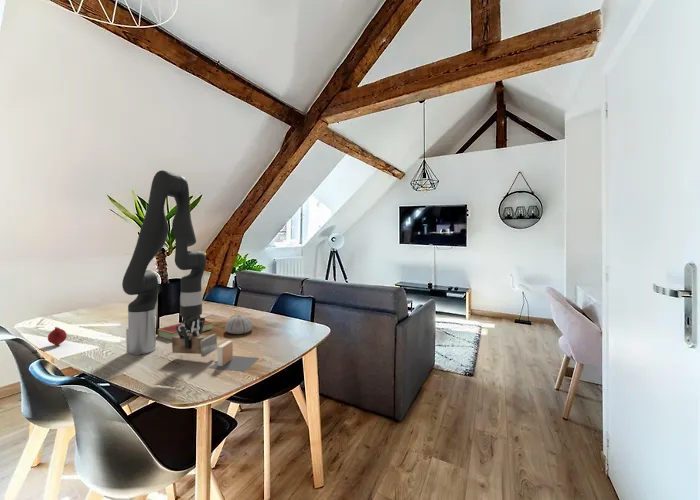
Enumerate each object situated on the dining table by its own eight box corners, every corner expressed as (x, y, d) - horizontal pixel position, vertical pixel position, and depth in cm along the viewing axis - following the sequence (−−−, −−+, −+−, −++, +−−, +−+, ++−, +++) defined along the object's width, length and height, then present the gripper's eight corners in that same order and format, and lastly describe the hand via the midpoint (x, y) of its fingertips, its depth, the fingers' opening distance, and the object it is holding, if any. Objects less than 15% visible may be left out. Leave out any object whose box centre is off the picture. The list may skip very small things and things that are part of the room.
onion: (66, 341, 133) (66, 324, 133) (67, 345, 129) (66, 326, 128) (48, 345, 129) (47, 326, 129) (47, 348, 125) (47, 329, 124)
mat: (208, 369, 108) (208, 368, 108) (227, 356, 120) (227, 355, 120) (244, 372, 106) (244, 371, 106) (259, 359, 118) (259, 358, 118)
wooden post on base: (167, 355, 113) (166, 339, 113) (182, 347, 121) (182, 332, 121) (203, 356, 111) (203, 340, 110) (217, 348, 118) (216, 333, 118)
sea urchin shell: (243, 326, 161) (243, 311, 161) (258, 331, 152) (258, 315, 152) (219, 331, 151) (219, 316, 151) (233, 337, 142) (233, 321, 142)
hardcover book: (157, 337, 142) (157, 328, 142) (198, 326, 161) (198, 318, 161) (172, 341, 137) (172, 332, 136) (212, 329, 155) (212, 321, 155)
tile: (217, 365, 110) (217, 346, 110) (228, 358, 117) (228, 340, 117) (222, 366, 110) (222, 347, 110) (232, 358, 117) (232, 340, 117)
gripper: (194, 298, 123) (195, 340, 123) (168, 306, 109) (169, 353, 109) (211, 299, 121) (211, 341, 122) (187, 307, 107) (187, 354, 108)
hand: (191, 346), depth 116 cm, fingers closed on wooden post on base, 3 cm apart
